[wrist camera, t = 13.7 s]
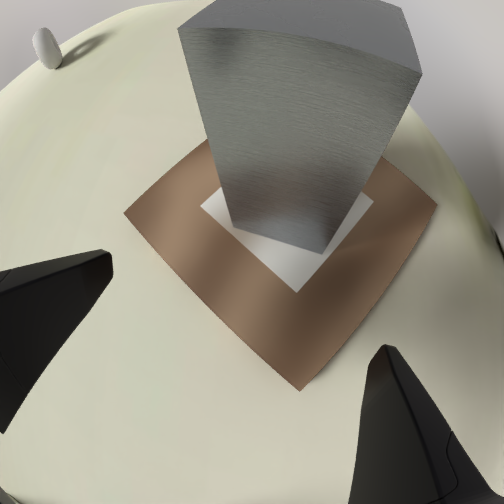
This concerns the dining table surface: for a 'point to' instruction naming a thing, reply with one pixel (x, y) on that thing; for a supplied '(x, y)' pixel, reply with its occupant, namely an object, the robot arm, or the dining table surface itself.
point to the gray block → (298, 106)
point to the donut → (47, 48)
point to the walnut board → (282, 261)
